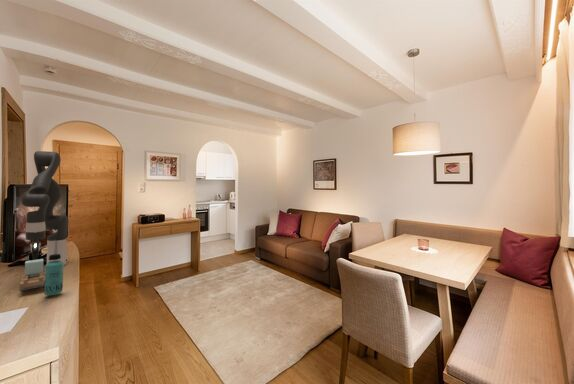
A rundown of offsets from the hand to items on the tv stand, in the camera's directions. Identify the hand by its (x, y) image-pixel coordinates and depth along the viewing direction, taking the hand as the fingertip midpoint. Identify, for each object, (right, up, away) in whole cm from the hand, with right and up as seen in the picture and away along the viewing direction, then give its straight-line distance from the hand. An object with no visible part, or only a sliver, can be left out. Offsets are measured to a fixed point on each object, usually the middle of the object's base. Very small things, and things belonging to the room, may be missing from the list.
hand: (35, 261), depth 132 cm
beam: (+6, -11, -6) cm, 14 cm away
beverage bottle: (+25, -12, -15) cm, 32 cm away
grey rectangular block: (+7, -5, -7) cm, 11 cm away
